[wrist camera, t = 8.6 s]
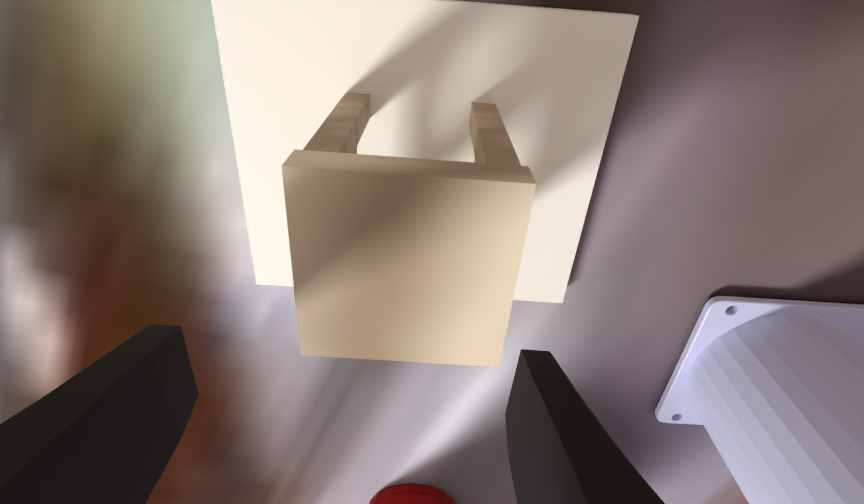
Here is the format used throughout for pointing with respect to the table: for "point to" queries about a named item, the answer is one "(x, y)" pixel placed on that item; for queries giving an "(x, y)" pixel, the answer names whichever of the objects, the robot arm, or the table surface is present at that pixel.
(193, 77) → the table surface
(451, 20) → the board
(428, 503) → the plastic cup
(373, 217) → the stool
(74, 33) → the table surface
